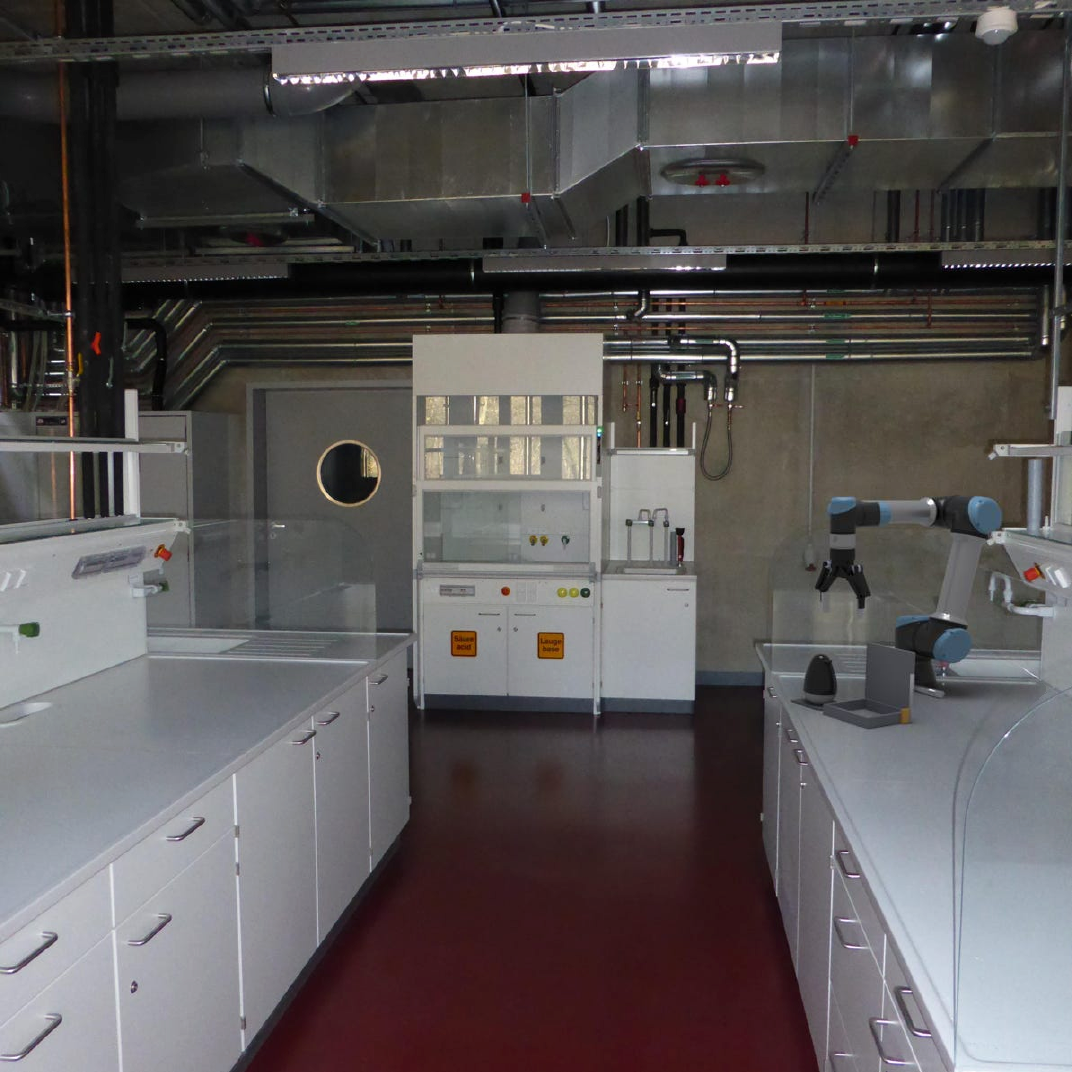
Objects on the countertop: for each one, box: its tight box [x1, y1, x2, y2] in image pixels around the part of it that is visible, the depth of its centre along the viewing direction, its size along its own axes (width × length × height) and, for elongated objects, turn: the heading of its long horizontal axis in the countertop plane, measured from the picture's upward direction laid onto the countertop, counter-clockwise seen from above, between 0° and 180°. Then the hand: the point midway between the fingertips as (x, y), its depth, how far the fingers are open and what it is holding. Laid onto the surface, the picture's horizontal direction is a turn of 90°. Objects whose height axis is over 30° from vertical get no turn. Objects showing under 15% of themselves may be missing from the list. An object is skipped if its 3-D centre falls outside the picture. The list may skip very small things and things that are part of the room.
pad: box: [790, 697, 838, 712], centre depth 293 cm, size 12×12×1 cm
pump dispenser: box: [802, 653, 838, 705], centre depth 292 cm, size 10×10×15 cm
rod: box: [913, 684, 946, 700], centre depth 307 cm, size 12×2×2 cm
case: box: [822, 641, 915, 730], centre depth 277 cm, size 18×18×20 cm
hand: (841, 616), depth 295 cm, fingers open, 13 cm apart
